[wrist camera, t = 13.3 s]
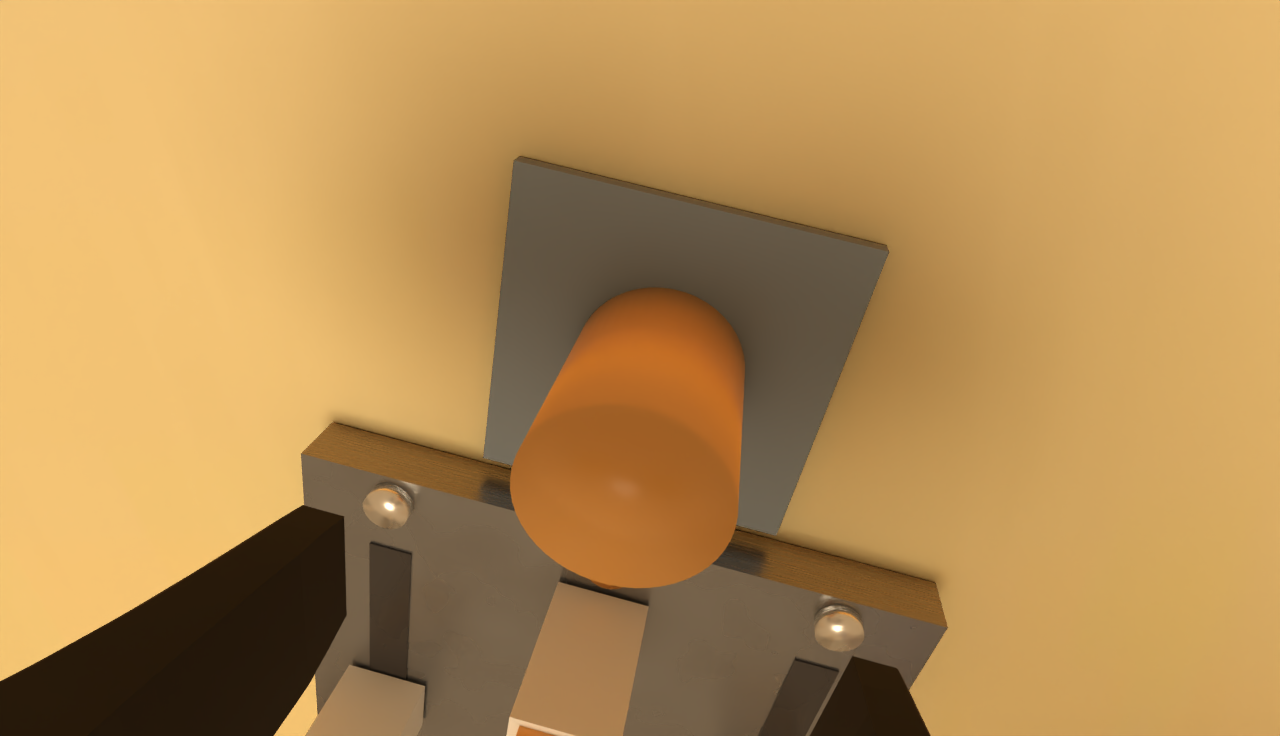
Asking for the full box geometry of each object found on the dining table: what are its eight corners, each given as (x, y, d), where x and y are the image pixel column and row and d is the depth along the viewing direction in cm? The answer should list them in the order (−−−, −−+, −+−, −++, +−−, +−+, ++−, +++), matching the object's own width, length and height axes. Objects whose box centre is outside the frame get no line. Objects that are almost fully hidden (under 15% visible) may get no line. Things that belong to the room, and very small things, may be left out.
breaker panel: (935, 582, 19) (951, 640, 17) (798, 818, 25) (800, 878, 23) (332, 422, 20) (291, 462, 18) (341, 688, 26) (312, 736, 24)
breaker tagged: (648, 606, 19) (617, 761, 15) (634, 654, 20) (602, 811, 16) (558, 581, 19) (504, 729, 15) (548, 630, 20) (496, 781, 16)
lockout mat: (886, 245, 15) (889, 252, 14) (775, 525, 19) (776, 535, 18) (519, 156, 15) (513, 160, 15) (488, 449, 19) (483, 457, 19)
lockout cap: (752, 294, 15) (749, 416, 11) (737, 445, 17) (728, 600, 13) (573, 280, 16) (501, 392, 11) (577, 429, 18) (517, 573, 13)
